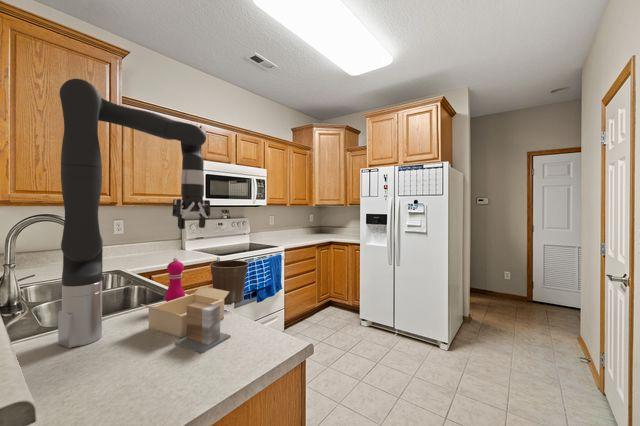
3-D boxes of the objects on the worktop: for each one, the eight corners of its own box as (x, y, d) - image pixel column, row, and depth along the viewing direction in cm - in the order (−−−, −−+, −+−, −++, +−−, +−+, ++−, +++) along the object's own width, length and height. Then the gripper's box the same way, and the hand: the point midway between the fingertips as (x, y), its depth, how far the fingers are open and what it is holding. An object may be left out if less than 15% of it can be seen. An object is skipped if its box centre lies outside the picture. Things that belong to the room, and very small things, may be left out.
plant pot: (252, 295, 132) (252, 260, 131) (243, 307, 116) (244, 267, 115) (216, 294, 131) (216, 259, 131) (202, 307, 115) (203, 267, 115)
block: (208, 345, 83) (208, 310, 82) (186, 338, 86) (186, 305, 86) (220, 338, 87) (220, 305, 86) (198, 332, 90) (198, 301, 90)
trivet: (202, 353, 79) (202, 350, 79) (174, 344, 84) (175, 342, 84) (230, 337, 89) (230, 335, 89) (204, 329, 94) (204, 328, 94)
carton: (172, 343, 84) (172, 312, 84) (139, 332, 91) (139, 303, 91) (230, 316, 106) (230, 291, 106) (199, 308, 113) (200, 285, 113)
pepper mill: (180, 303, 118) (180, 255, 118) (188, 307, 114) (189, 257, 113) (161, 308, 113) (161, 257, 112) (169, 312, 108) (170, 259, 108)
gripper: (182, 181, 95) (182, 230, 96) (215, 184, 108) (215, 227, 108) (167, 181, 99) (167, 229, 99) (201, 185, 111) (200, 226, 112)
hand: (192, 228), depth 104 cm, fingers open, 8 cm apart
